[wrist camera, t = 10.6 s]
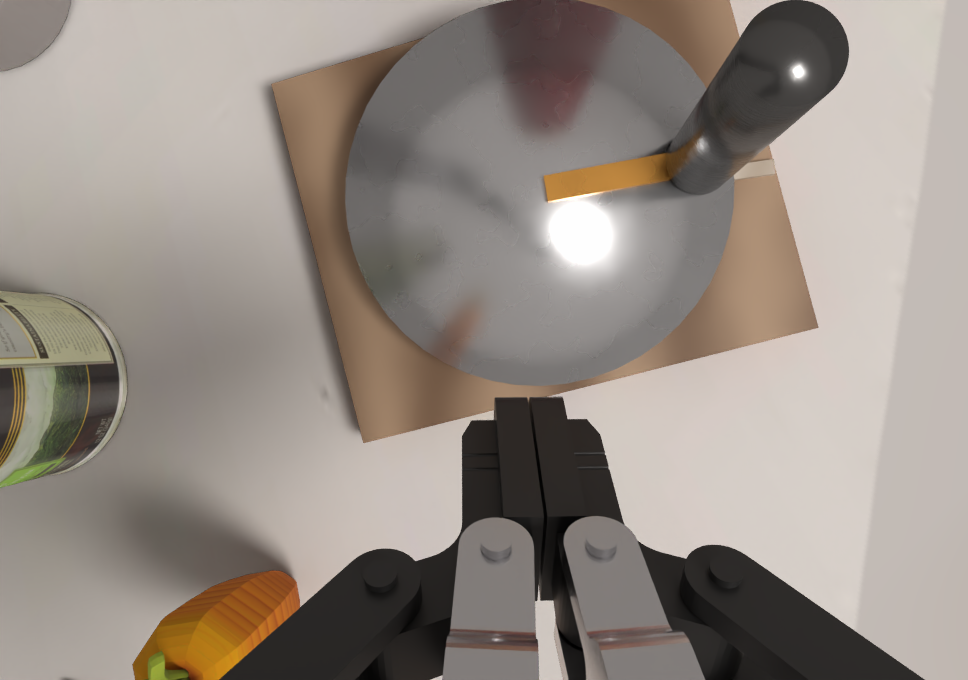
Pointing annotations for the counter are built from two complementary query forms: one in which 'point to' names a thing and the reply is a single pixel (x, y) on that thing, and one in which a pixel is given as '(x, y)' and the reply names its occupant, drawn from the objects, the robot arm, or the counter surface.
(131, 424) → the counter surface
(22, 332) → the coffee can
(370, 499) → the counter surface
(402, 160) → the wheel
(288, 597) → the carrot
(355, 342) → the base board
